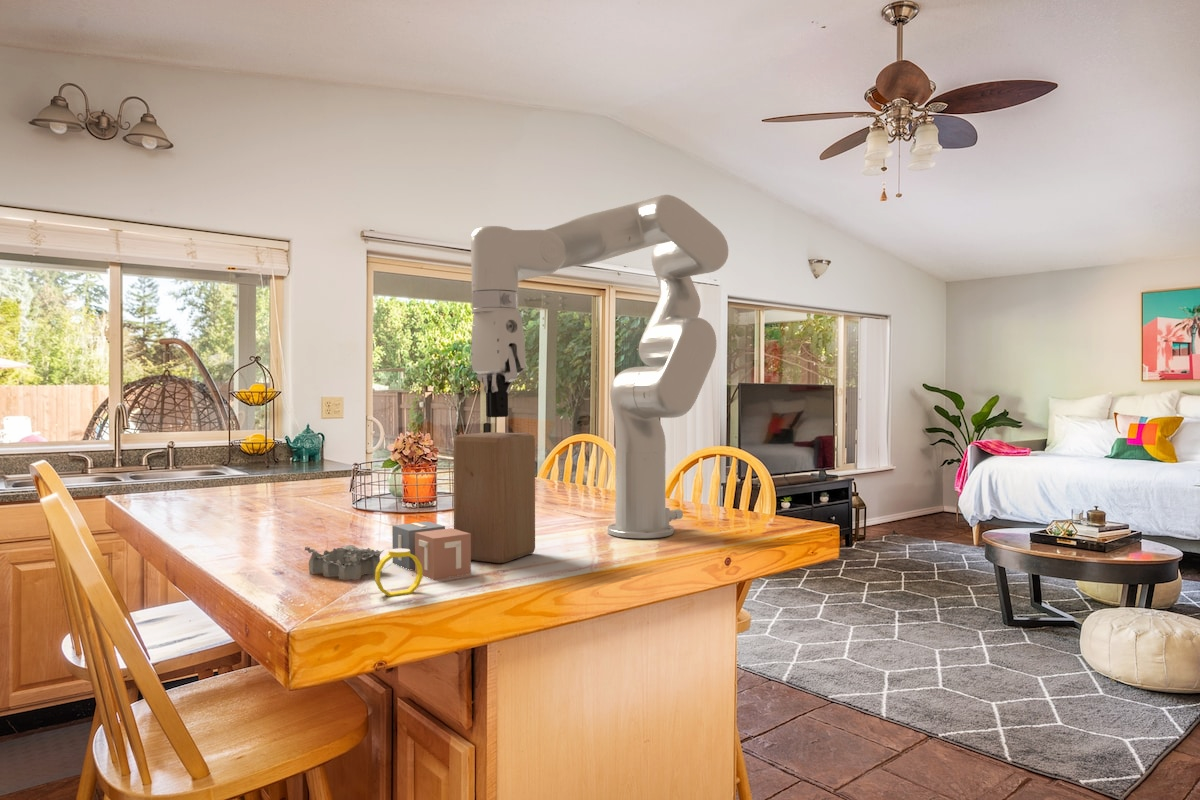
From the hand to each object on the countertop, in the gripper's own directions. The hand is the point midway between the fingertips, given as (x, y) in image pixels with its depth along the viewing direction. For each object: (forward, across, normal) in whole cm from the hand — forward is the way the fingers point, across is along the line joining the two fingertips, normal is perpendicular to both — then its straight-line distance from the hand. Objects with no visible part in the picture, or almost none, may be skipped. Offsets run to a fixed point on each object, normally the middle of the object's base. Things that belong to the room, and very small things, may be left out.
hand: (497, 416), depth 122 cm
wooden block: (+23, 0, +1) cm, 23 cm away
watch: (+23, -12, +23) cm, 34 cm away
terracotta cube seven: (+23, -5, +13) cm, 27 cm away
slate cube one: (+23, +3, +13) cm, 26 cm away
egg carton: (+23, +5, +24) cm, 33 cm away
